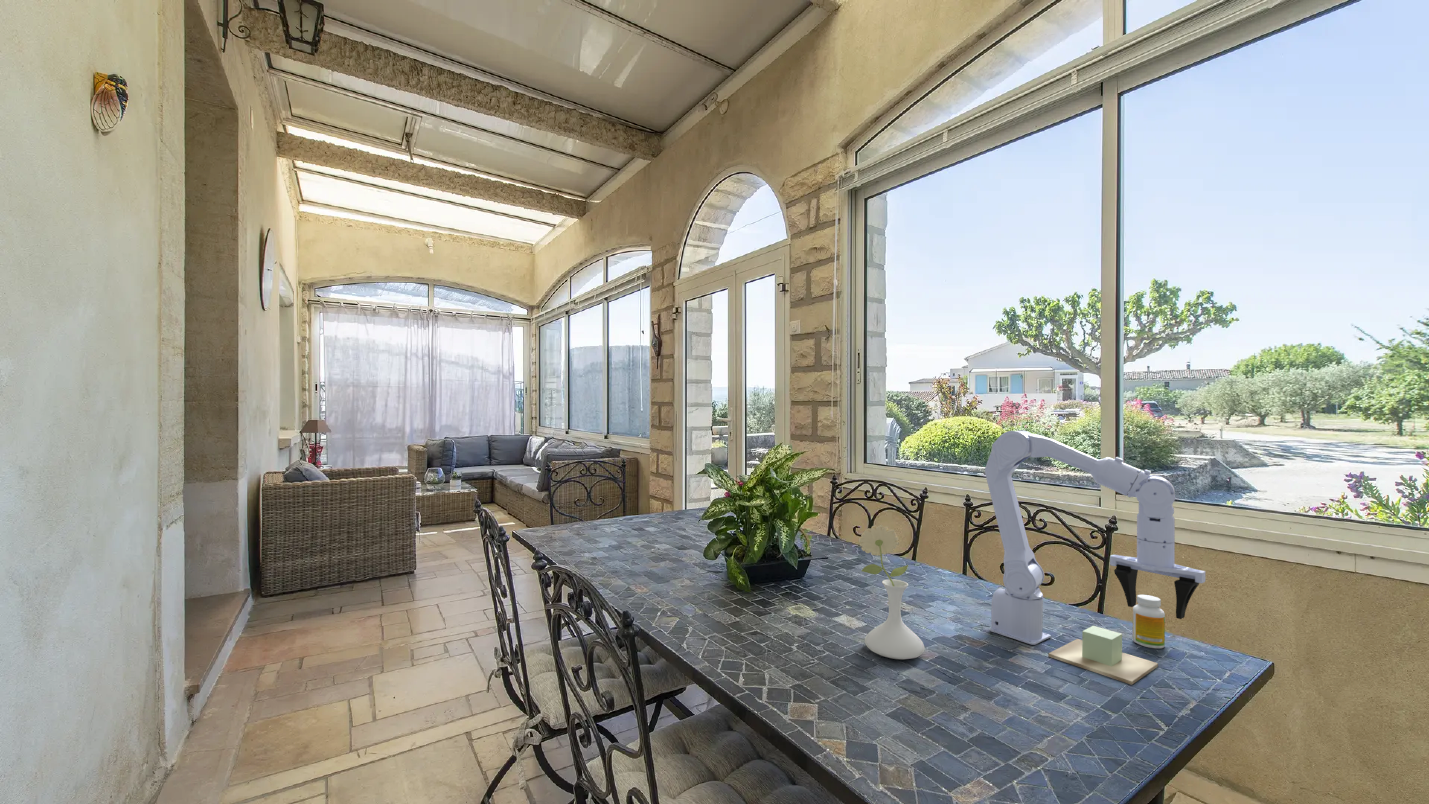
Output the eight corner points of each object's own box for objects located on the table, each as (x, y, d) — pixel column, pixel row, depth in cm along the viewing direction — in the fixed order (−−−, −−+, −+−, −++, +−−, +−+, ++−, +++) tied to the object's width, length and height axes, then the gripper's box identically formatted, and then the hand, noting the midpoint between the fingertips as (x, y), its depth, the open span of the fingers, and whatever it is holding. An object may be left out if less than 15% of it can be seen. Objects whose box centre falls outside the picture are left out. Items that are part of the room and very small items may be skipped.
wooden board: (1048, 656, 113) (1048, 653, 113) (1077, 641, 121) (1077, 638, 121) (1131, 684, 102) (1131, 681, 102) (1157, 666, 110) (1157, 663, 110)
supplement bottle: (1170, 650, 117) (1170, 602, 117) (1140, 647, 118) (1141, 600, 118) (1155, 640, 122) (1156, 594, 122) (1127, 637, 123) (1127, 592, 124)
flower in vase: (927, 647, 117) (928, 524, 117) (921, 670, 106) (923, 535, 107) (861, 635, 122) (863, 518, 122) (850, 656, 112) (852, 527, 112)
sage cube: (1082, 656, 112) (1082, 631, 112) (1092, 650, 115) (1093, 625, 115) (1111, 666, 108) (1111, 639, 108) (1121, 659, 111) (1122, 633, 111)
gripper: (1103, 535, 113) (1103, 604, 113) (1196, 550, 101) (1196, 627, 101) (1117, 531, 117) (1117, 598, 117) (1209, 545, 105) (1209, 619, 105)
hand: (1155, 611), depth 109 cm, fingers open, 7 cm apart
